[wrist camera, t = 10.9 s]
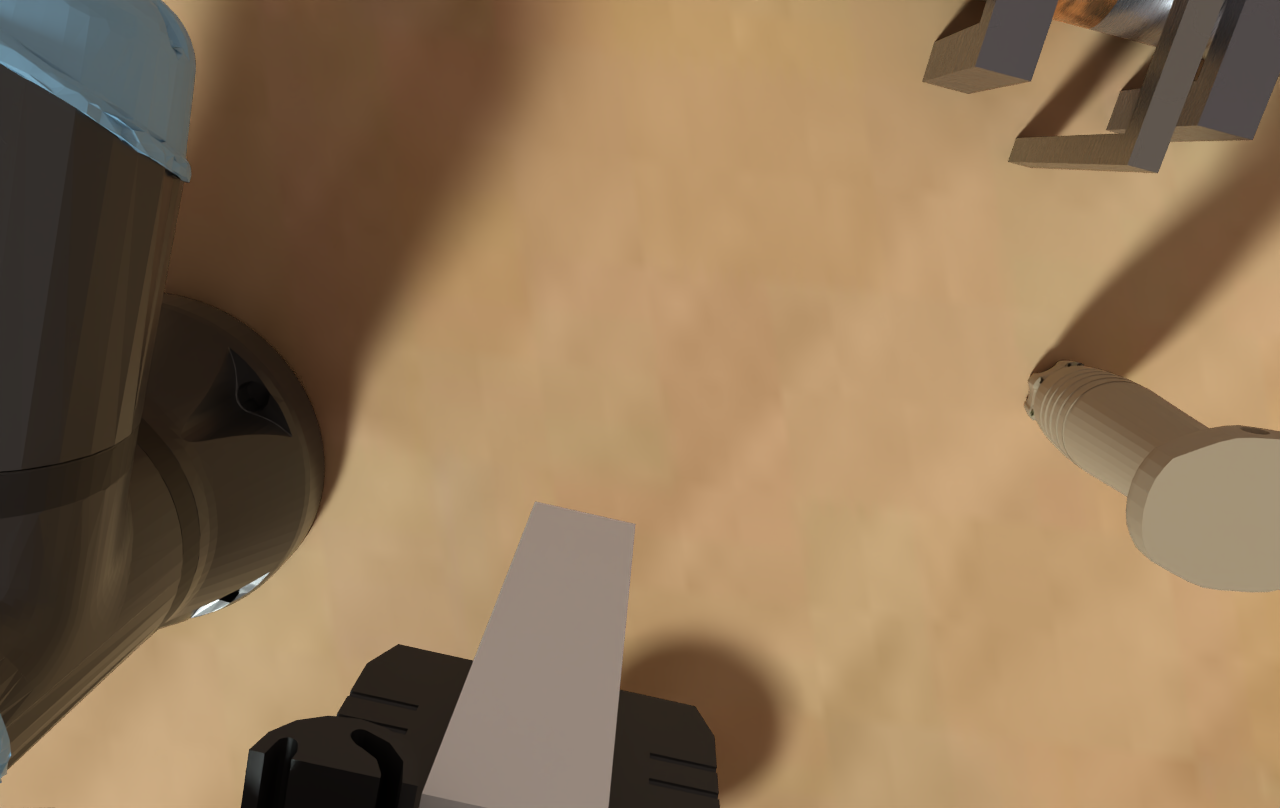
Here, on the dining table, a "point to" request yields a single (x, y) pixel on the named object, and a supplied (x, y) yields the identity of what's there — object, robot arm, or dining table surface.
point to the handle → (1171, 475)
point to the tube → (1123, 18)
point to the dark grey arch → (993, 47)
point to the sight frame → (1138, 104)
